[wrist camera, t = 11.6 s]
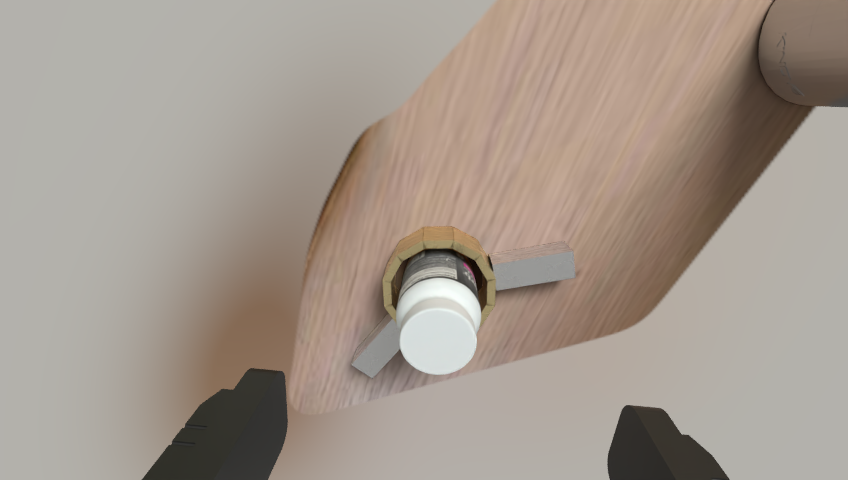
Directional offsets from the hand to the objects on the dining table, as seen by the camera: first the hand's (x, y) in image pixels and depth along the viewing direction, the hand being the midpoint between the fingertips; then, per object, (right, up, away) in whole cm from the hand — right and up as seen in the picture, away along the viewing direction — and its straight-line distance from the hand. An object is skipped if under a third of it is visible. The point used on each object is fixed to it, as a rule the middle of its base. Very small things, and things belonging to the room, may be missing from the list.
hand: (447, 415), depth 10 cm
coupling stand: (+1, +1, +24) cm, 24 cm away
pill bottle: (+1, +1, +24) cm, 24 cm away
